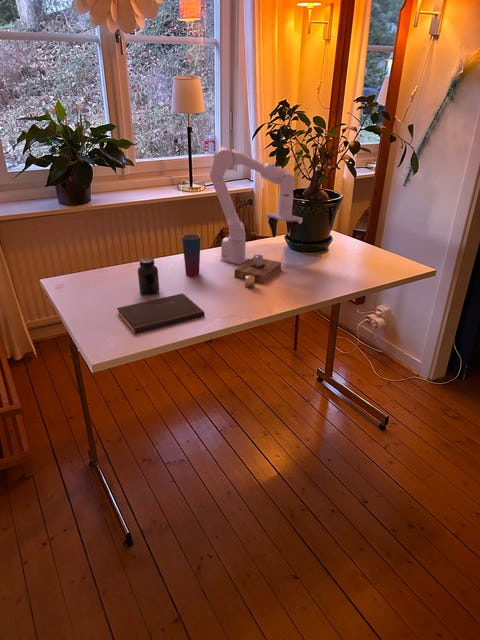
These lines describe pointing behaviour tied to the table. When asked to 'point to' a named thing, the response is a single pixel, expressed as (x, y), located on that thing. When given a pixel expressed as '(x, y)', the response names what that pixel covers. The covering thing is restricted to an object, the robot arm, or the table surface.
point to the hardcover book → (160, 313)
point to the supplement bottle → (148, 277)
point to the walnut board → (258, 270)
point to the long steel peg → (258, 261)
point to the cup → (191, 253)
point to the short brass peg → (249, 281)
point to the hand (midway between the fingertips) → (283, 238)
